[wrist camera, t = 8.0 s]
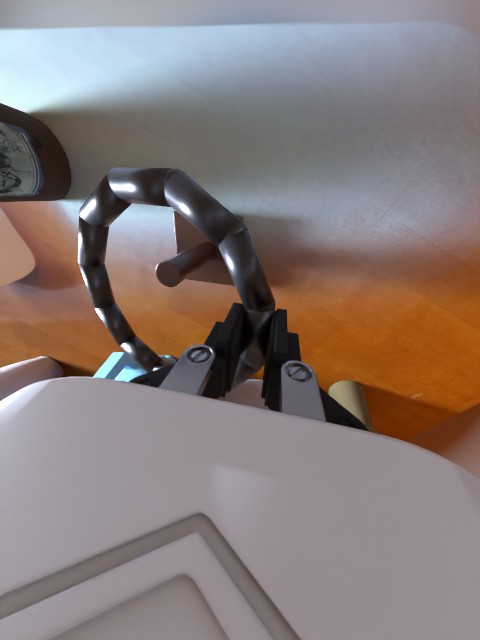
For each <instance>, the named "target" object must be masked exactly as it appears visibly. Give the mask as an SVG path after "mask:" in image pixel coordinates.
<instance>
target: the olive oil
mask: <svg viewBox="0 0 480 640" xmlns="http://www.w3.org/2000/svg"><path fill="white" fill-rule="evenodd" d="M70 181H71V175H70V168H69V164H68V160H67V157H66V155H65V152H64V150H63V148H62V146H61V145H60V143H59V141H58V140H57V138H56V137H55V135H54V134H53V133H52V132H51V130H50V129H49V128H48V127H47V126H46V125H45V124H44V123H42V122H41V121H40V120H38V119H37V118H35V117H34V116H32V115H29V114H27V113H25V112H22V111H19V110H17V109H14V108H12V107H9V106H6V105H4V104H1V103H0V202H15V201H54V200H59V199H61V198H63V197H64V196H65V195H66V194H67V192H68V190H69V187H70Z"/></svg>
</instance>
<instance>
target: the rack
mask: <svg viewBox="0 0 480 640" xmlns="http://www.w3.org/2000/svg"><path fill="white" fill-rule="evenodd" d="M173 216H174V227H175V239H176V250H177V255H175V256H173V257H171V258H169V259H167V260H165V261H163V262H161V263H159V264H158V265H157V267H156V276H157V278H158V280H159V281H160V282H161V283H162V284H163V285H165V286H167V287H174V286H177V285H178V284H179V283H180V282H182V281H183V280H184V279H189V280H197V281H204V282H212V283H219V284H227V285H234V286H235V284H234V282H233V279H232V277H231V275H230V272H229V270H228V268H227V266H226V263H225V261H224V259H223V256H222V254H221V252H220V249H219V248H218V247H217V246H216V245H215V244H214V243H213V242H212V241H210V240H209V239H208V238H207V237H206V236H205V235H203V234H202V233H201V232H200V231H199V230H198V229H197V228H195V227H194V226H193V225H192V224H191V223H190V222H188V221H187V220H186V219H185V218H184V217H183V216H182V215H180V214H179V213H178V212H177V211H173ZM235 217H237V218H238V219H239V220H240V221H241V222H242V223H243V217H241V216H235Z"/></svg>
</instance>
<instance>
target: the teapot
mask: <svg viewBox="0 0 480 640" xmlns="http://www.w3.org/2000/svg"><path fill="white" fill-rule="evenodd" d="M158 356H159V357H160V358H161V359H163V360H164V361H166V362H168V363H170V364H173V363H176V360H175V359H174V358H173V357H172V356H161V355H158ZM145 373H148V372H146V371H145V370H144V369H143V368H142V367H141V366H140V365H139V364H138V363H137V362H135V361H134V360H133V359H132V358H131V357H130V356H129V355H128V354H127V353H122V352H113V353H112V355H111V356H110V357H109V358H108V359H107V361H106V362H105V363H104V364H103V365H102V367H101V368H100V369H99V370H98V372H97V373H96V374H95V375H94V376H93V377H97V378H105V379H112V380H118V381H123V380H125V382H129V381H130V380H131V379H133V378H135V377H137V376H140V375H142V374H145Z"/></svg>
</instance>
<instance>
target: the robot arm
mask: <svg viewBox="0 0 480 640" xmlns="http://www.w3.org/2000/svg"><path fill="white" fill-rule="evenodd" d="M244 314H245V307H244V306H243V304H240V303H233V305H232V307H231V309H230V311H229V313H228V315H227V317H226V319H225V321H224V322H216V324H215V325H214V327H213V329H212V331H211V332H210V334H209V336H208V338H207V339H206V341H205V343H204V345H201V344H200V345H194V346H191V347H189V348H187V349H186V350H185V351H184V353H183V354H182V356H181V357H180V358H179V360H178V361H177V362H176V363H173V364H171V365H168V366H165V367H162V368H159V369H157V370H154V371H151V372H148V373H145V374H142V375H140V376H137V377H135V378H133V379H131V380H130V381H129V382H125V380H123V381H118V380H112V379H105V378H97V377H64V378H55V379H49V380H44V381H40V382H37V383H34V384H31V385H29V386H27V387H25V388H23V389H21V390H19V391H17V392H15V393H14V394H12V395H10V396H8V397H7V398H5V399H3V400H2V401H0V640H480V478H479V477H477V476H475V475H474V474H472V473H471V472H469V471H468V470H466V469H464V468H463V467H461V466H459V465H457V464H456V463H454V462H452V461H450V460H448V459H446V458H444V457H442V456H440V455H438V454H436V453H434V452H432V451H429V450H427V449H424V448H421V447H419V446H417V445H414V444H411V443H408V442H405V441H402V440H399V439H396V438H392V437H388V436H384V435H382V434H380V433H378V432H376V431H375V433H372V432H369V430H368V429H367V427H366V426H365V425H364V424H363V423H362V422H361V421H360V420H359V419H358V418H357V417H355V416H354V415H353V414H352V413H351V412H349V411H348V410H347V409H346V408H344V407H343V406H342V405H341V404H339V403H338V402H337V401H336V400H335V399H333V398H332V397H331V396H330V395H328V394H327V393H326V392H325V391H324V390H322V389H321V388H320V387H319V386H318V383H317V378H316V374H315V372H314V370H313V369H312V368H311V367H310V366H309V365H308V364H306V363H304V362H301V356H300V347H299V338H298V334H296V333H290V332H287V310H284V309H277V311H274V314H273V316H272V322H271V328H270V334H269V340H268V346H267V352H266V358H265V367H264V375H263V384H262V392H261V398H263V399H265V403H264V406H267V407H268V408H269V409H270V410H266V409H261V408H256V407H251V406H246V405H241V404H236V403H232V402H227V401H222V400H217V398H218V397H223V398H225V395H226V391H228V392H230V391H231V387H232V384H233V380H234V377H235V373H236V370H237V366H238V362H239V359H240V355H241V349H242V338H243V326H244Z"/></svg>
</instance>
